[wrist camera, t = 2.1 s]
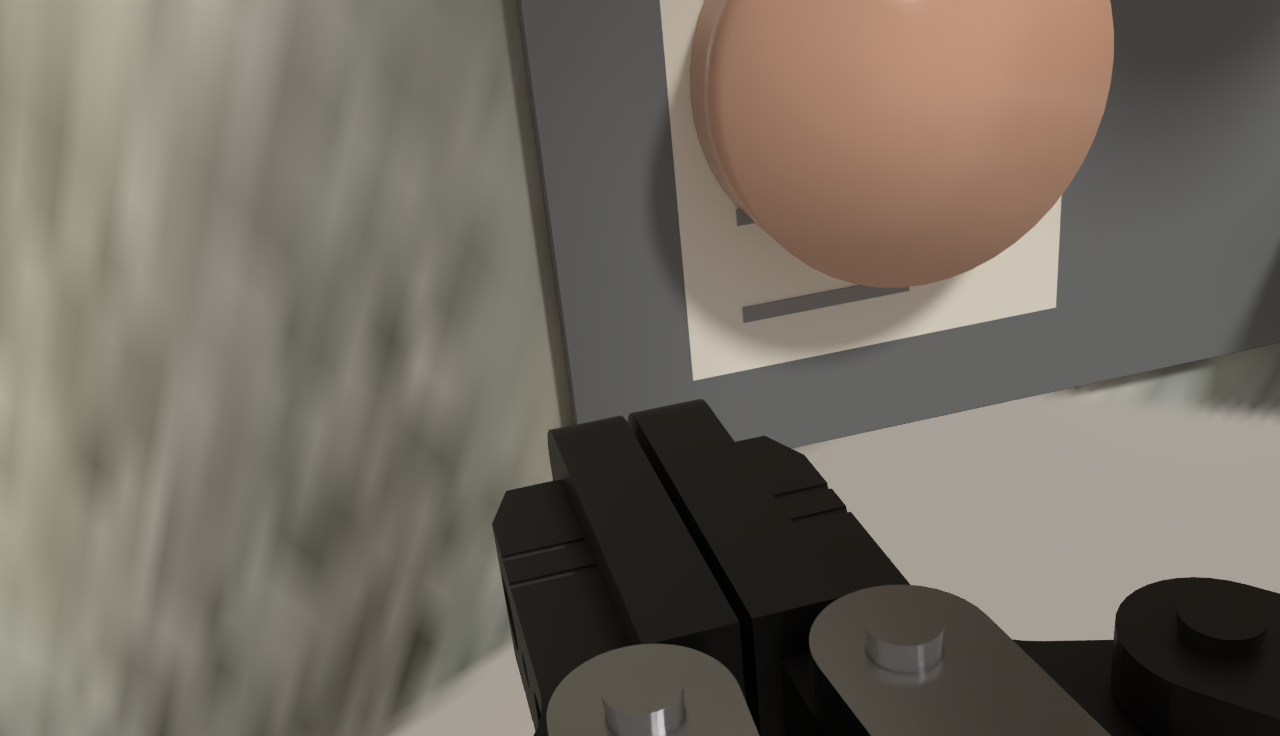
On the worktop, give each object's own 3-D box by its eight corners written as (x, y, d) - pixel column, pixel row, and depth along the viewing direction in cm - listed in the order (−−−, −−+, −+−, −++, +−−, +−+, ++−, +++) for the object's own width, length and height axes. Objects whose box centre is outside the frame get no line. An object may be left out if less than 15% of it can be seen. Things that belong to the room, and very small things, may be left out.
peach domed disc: (673, -117, 26) (708, -113, 23) (1060, -165, 27) (1128, -165, 25) (705, 283, 29) (738, 321, 27) (1043, 220, 31) (1101, 250, 29)
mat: (481, -259, 24) (485, -262, 24) (1561, -364, 29) (1588, -368, 28) (582, 481, 31) (587, 493, 31) (1435, 298, 36) (1454, 305, 36)
